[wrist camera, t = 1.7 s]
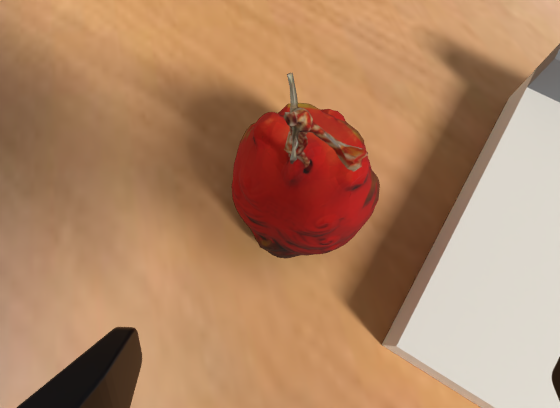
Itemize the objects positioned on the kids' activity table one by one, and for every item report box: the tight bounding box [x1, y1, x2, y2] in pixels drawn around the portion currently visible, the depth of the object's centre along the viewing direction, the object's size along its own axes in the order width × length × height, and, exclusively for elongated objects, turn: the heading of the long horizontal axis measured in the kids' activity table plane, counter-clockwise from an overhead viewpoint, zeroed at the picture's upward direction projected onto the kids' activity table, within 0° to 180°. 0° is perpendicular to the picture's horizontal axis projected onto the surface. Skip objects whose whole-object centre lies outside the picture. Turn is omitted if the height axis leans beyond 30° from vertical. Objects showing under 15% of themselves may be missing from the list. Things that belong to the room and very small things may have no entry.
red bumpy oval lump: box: [232, 73, 380, 258], centre depth 17 cm, size 8×7×15 cm
